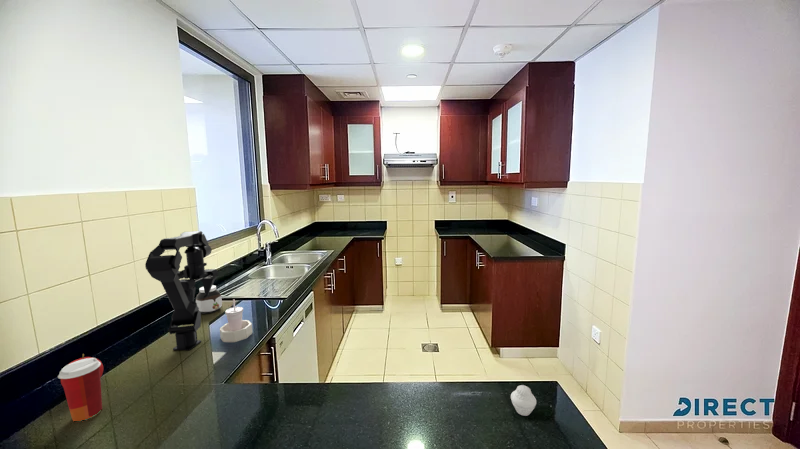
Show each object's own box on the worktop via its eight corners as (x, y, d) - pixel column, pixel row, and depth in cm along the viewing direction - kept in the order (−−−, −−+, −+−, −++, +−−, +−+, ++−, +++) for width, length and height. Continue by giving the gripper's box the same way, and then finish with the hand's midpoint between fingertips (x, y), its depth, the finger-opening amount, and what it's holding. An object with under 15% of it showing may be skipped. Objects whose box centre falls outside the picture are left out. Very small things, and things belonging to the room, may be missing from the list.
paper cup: (104, 400, 88) (97, 353, 86) (110, 412, 83) (102, 363, 81) (64, 416, 82) (55, 366, 80) (67, 430, 77) (58, 378, 75)
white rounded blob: (534, 423, 77) (535, 397, 76) (508, 415, 80) (509, 389, 79) (537, 407, 82) (538, 383, 81) (512, 400, 85) (513, 376, 84)
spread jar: (201, 316, 143) (199, 292, 142) (192, 310, 150) (189, 287, 149) (228, 308, 153) (226, 285, 151) (218, 303, 160) (216, 281, 158)
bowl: (242, 342, 119) (241, 332, 119) (215, 342, 120) (214, 332, 119) (256, 329, 130) (255, 320, 129) (231, 329, 130) (230, 320, 130)
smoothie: (230, 338, 120) (227, 303, 118) (224, 333, 125) (221, 299, 123) (247, 332, 125) (245, 298, 123) (241, 327, 129) (238, 295, 127)
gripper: (192, 256, 137) (196, 291, 139) (157, 268, 119) (162, 307, 121) (217, 256, 137) (220, 291, 139) (186, 268, 118) (190, 307, 120)
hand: (199, 298), depth 130 cm, fingers open, 9 cm apart
